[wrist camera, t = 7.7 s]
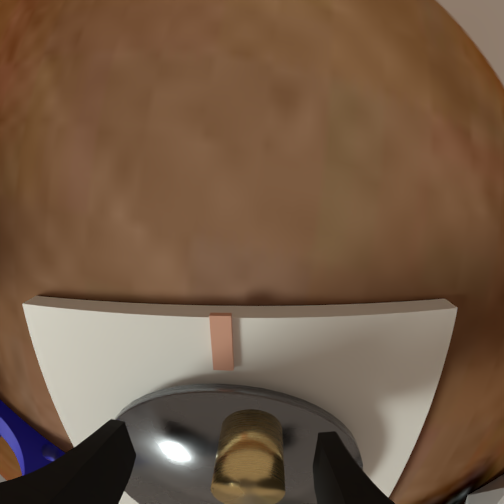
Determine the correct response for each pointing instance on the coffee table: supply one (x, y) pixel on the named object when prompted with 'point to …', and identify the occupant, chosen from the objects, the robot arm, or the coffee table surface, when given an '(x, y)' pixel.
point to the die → (488, 493)
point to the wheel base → (251, 362)
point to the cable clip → (26, 442)
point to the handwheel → (226, 445)
